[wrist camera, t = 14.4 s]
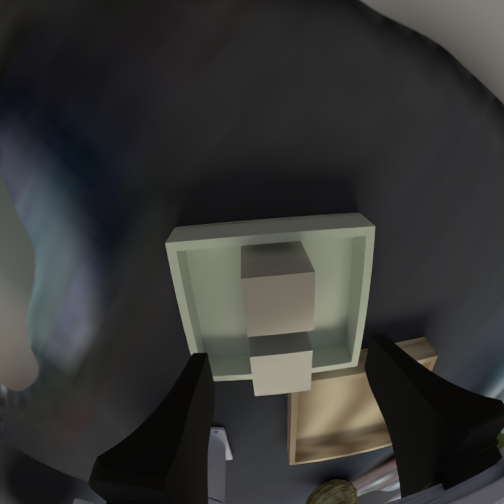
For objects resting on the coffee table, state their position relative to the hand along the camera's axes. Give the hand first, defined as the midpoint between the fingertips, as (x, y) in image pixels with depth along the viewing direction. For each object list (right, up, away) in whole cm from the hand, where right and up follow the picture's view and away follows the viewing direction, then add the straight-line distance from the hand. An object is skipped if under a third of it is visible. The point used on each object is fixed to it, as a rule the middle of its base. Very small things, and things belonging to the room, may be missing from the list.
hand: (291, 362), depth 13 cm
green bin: (0, +2, +11) cm, 11 cm away
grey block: (0, -1, +11) cm, 11 cm away
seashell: (+11, -35, +27) cm, 46 cm away
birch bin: (+9, -11, +17) cm, 22 cm away
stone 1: (0, +4, +9) cm, 10 cm away
